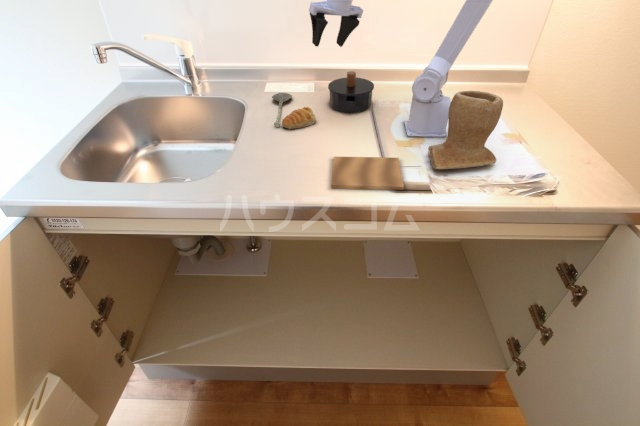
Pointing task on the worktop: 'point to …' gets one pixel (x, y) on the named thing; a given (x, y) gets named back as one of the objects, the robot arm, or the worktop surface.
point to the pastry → (299, 118)
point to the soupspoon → (280, 104)
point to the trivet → (367, 173)
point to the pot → (350, 103)
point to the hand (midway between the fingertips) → (327, 44)
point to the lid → (351, 85)
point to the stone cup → (468, 131)
